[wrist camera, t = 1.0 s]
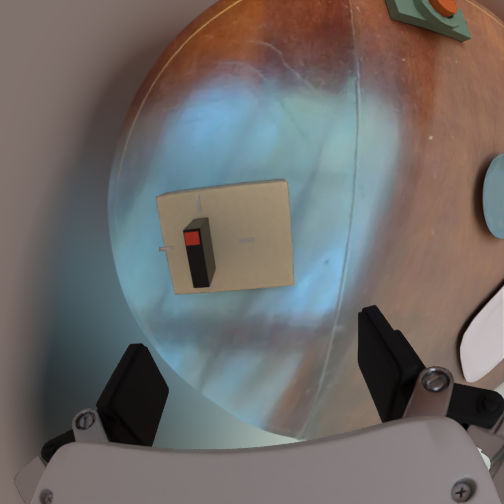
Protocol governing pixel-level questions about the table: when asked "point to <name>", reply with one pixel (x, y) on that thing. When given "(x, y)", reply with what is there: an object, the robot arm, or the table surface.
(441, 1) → the button
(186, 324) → the table surface
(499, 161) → the saucer
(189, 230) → the knob
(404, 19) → the block
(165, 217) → the panel
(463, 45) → the table surface
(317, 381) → the table surface
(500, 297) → the plate
